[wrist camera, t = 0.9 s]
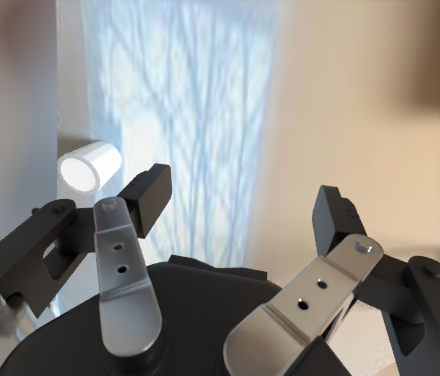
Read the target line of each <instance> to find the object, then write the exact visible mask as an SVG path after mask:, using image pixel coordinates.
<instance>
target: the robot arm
mask: <svg viewBox="0 0 440 376" xmlns="http://www.w3.org/2000/svg"><path fill="white" fill-rule="evenodd" d="M171 195H172V180H171V168H170V166H169V165H166V164H158V163H155V164H154V165H153V166H152V167H151V168H150V169H149V171H144V172H142V173H140V174H138V175H137V176H136V177H135V178H134V179H133V181H131V182H130V183H129V185H127V186H126V187H125V188H124V189H123V190H122V191H121V192H120V193H119V194H118V195H117V196H116V197H108V198H104V199H102V200H100V201H98V202H97V203H96V204H95V205H94V207H93V208H77V207H76V204H75V202H74V201H73V200H70V199H59V200H55V201H52V202H49V203H47V204H46V205H44V206H43V207H42V208H41V209H39V210H38V211H37V212H36V213H34V214H33V215H32V216H31V217H30V218H28V219H27V220H26V221H25V222H24V223H22V224H21V225H20V226H18V227H17V228H16V229H15V230H14V231H12V232H11V233H10V234H9V235H7V236H6V237H5V238H4V239H2V240H1V241H0V376H351V374H350V373H349V372H348V370H347V369H346V368H345V366H344V365H343V364H342V362H341V361H340V360H339V359H338V357H337V356H336V355H335V353H334V352H333V351H332V349H331V348H330V347H329V345H328V343H329V342H330V340H331V339H332V337H333V336H334V334H335V332H336V331H337V329H338V328H339V326H340V325H341V324H342V322H343V321H344V320H345V318H346V317H347V316H348V314H349V313H350V312H351V310H352V309H353V308H354V306H355V305H356V304H357V302H358V301H359V300H360V301H362V302H364V303H366V304H368V305H371V306H373V307H375V308H377V309H379V310H381V313H382V316H383V320H384V323H385V326H386V330H387V333H388V337H389V340H390V343H391V347H392V350H393V354H394V357H395V360H396V364H397V367H398V371H399V374H400V376H440V263H439V262H437V261H435V260H433V259H431V258H428V257H424V256H413V257H411V258H410V259H409V261H408V262H407V263H406V262H404V261H401V260H398V259H395V258H393V257H390V256H388V255H386V254H384V250H383V248H382V247H381V245H380V244H379V243H378V242H376V241H375V240H374V239H372V238H370V237H368V236H367V234H366V231H365V229H364V227H363V224H362V222H361V220H360V219H359V218H360V217H359V215H358V213H357V210H356V208H355V206H354V204H353V203H352V202H351V201H350V200H349V199H347V198H342V197H341V195H340V192H339V190H338V187H333V186H325V185H321V187H320V189H319V192H318V196H317V199H316V202H315V206H314V209H313V214H312V223H313V229H314V235H315V241H316V247H317V252H318V257H317V258H316V259H315V260H314V261H312V262H311V263H310V264H309V265H308V266H307V267H306V268H305V269H304V270H303V271H302V272H301V273H299V274H298V275H297V276H296V277H295V278H294V279H293V280H292V281H291V282H290V283H289V284H288V285H286V286H285V287H284V288H283V289H282V288H281V287H279V286H278V285H276V284H274V283H273V282H271V281H268V280H267V272H264V271H259V270H253V269H248V268H215V267H213V266H210V265H208V264H206V263H203V262H201V261H198V260H196V259H193V258H188V257H182V256H177V255H172V254H171V256H170V259H169V261H168V262H159V263H155V264H152V265H149V266H147V267H146V265H145V261H144V258H143V255H142V251H141V248H140V245H139V241H138V238H142V239H145V238H146V236H147V234H148V233H149V231H150V230H151V228H152V227H153V225H154V224H155V222H156V221H157V219H158V217H159V216H160V214H161V213H162V211H163V210H164V208H165V207H166V205H167V203H168V202H169V200H170V198H171ZM52 242H54V245H55V247H54V248H53V249H52V250H51V252H50V253H49V254H48V255H47V256H46V257H45V258H44V259H43V254H44V252H45V250H46V249H47V248H48V247H49V246H50V245H51V243H52ZM92 252H96V262H97V272H98V282H99V292H100V293H99V294H97V295H95V296H93V297H92V298H90V299H88V300H86V301H85V302H83V303H81V304H79V305H78V306H76V307H74V308H73V309H71V310H69V311H67V312H66V313H64V314H62V315H60V316H59V317H57V318H55V319H54V320H52V321H50V322H48V323H46V324H45V325H43V326H42V327H40V328H38V329H37V326H38V321H37V319H38V318H39V316H40V315H41V313H42V312H43V311H44V310H45V308H46V307H47V306H48V305H49V303H50V302H51V301H52V299H53V298H54V297H55V296H56V294H57V293H58V292H59V290H60V289H61V288H62V286H63V285H64V284H65V283H66V281H67V280H68V279H69V277H70V276H71V275H72V273H73V272H74V271H75V270H76V268H77V267H78V266H79V264H80V263H81V262H82V261H83V259H84V258H85V257H86V255H87V254H88V253H92Z"/></svg>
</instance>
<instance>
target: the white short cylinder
mask: <svg viewBox="0 0 440 376" xmlns="http://www.w3.org/2000/svg"><path fill="white" fill-rule="evenodd" d="M120 165H121V157H120V154H119V152H118V151H117V149H116V148H115V147H114V146H113V145H111V144H110V143H108V142H105V141H96V142H94V143H91V144H89V145H86V146H84V147H81V148H79V149H76V150H74V151H72V152H69V153H67V154H64V155H63V156H61V157H60V158H59V160H58V162H57V171H58V174H59V176H60V178H61V180H62V181H63V182H64V183H65V184H66V185H67V187H69V188H70V189H72V190H73V191H74V192H76V193H79V194H82V195H92V194H94V193H96V192H98V191H99V189H100V188H101V187H102V186H103V185H104V184H105V183H106V182H107V181H108V180H109V179H110V177H111V176H112V175H113V174H114V173H115V172H116V171H117V170H118V169H119V167H120Z"/></svg>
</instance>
